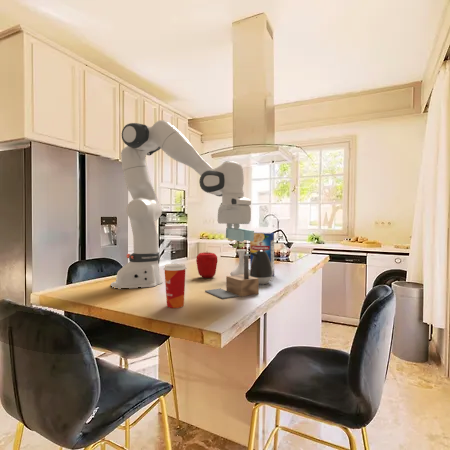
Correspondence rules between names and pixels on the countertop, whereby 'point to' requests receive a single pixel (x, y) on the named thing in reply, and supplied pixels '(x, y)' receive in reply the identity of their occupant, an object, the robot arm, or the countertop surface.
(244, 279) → the stand
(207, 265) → the apple
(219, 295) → the mat
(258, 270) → the pump dispenser
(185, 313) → the countertop surface
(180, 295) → the paper cup
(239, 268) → the flower in vase
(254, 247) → the beverage box
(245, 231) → the c link
